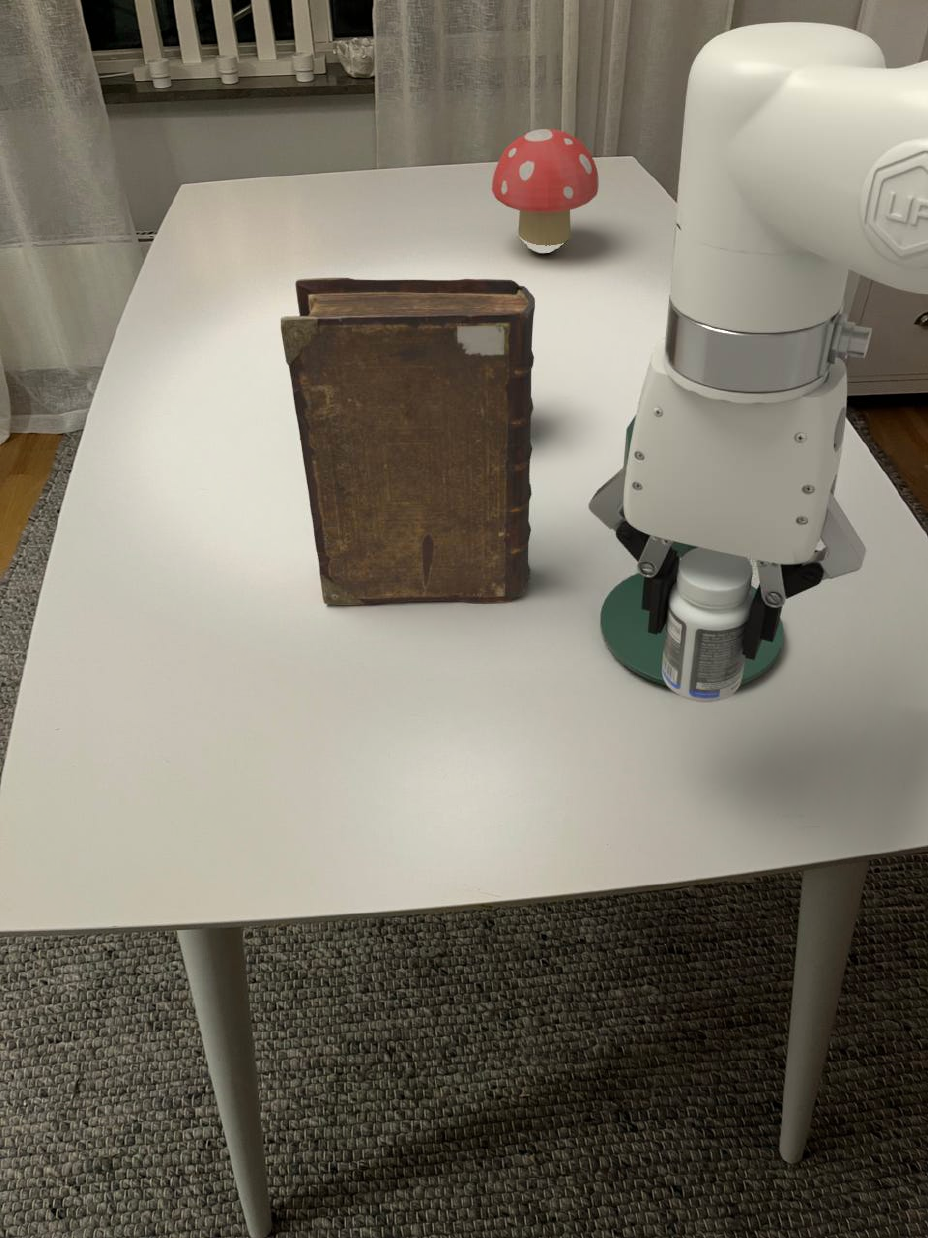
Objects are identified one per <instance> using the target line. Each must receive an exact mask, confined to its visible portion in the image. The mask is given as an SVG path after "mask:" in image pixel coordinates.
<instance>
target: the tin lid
mask: <svg viewBox="0 0 928 1238" xmlns="http://www.w3.org/2000/svg"><path fill="white" fill-rule="evenodd" d="M643 583H644V576H643V575H641V574H640V573H639V572H637V573H635V574H633V575H631V576H628V577H627V578H625V579H623V580H622V581H620V583H618V584H617V585H616V586H614V588H613V589H612V590H611V591H610V592H609V593H608V595H607V596H606V598H605V599H604V602H603V604H602V606H601V611H600V615H599V616H600V618H599V619H600V620H599V627H600V632H601V635H602V638H603V641H604V643H605V645H606V647H607V649H608V650H609V651H610V652H611V653H612V654H613V656H614V657H615V658H616V659H617V660H618V661H619V662H620V663H621V664H622V665H623V666H625V667H626V668H628V669H629V670H630V671H631V672H634V673H635V674H637V675H639V676H641V677H643V678H645V679H647V680H649V681H651V682H653V683H657V684H660V685H662V686H666V687H668V686H667V684H666V683H665V681H664V678H663V675H662V662H663V651H664V642H665V632H666V624H665V626H664V628H663V630H662V632H661V633H658V634H657V635H655V634H652V633H648V623H649V612H650V611H646V610H642V595H643ZM750 591H751V593H752V595H753V598H754V596H755V593H756V591H757V588H756V587H755V586H754V585H752V586H751V590H750ZM783 642H784V626H783V622H782V619H781V618H780V621H779V625H778V629H777V632H776V635H775V638H774V641H773V642H769V641H765V640H762V641H761V644H760V647H759V649H758V652H757V655H756V657H755V660H751V659H748V658H745V664H744V670H743V676H742V680H741V683H740V685H739V686H741V685H743V684H746V683H748V682H750V681H753V680H754V679H756V678H758V677H760V676H761V675H762V674H764V673H765V672H766V671H767V670H768V669H770V667H771V666H772V665H773V664H774V663H775V662H776V660H777V659H778V657H779V655H780V653H781V650H782V645H783Z"/></svg>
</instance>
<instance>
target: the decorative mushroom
mask: <svg viewBox="0 0 928 1238" xmlns="http://www.w3.org/2000/svg"><path fill="white" fill-rule="evenodd" d="M494 169H495V170H494V172H493V177H492V183H491V191H492V194H493V196H494V198H495V199H496V200H497V201H498V202H500V203H501V204H502V205H504V206H505V207H507V208H511V209H513V210H516V211H519V217H518V234H519V236H520V237H521V238H522V239H523V240H525V241H527V242H529V243H532V244H536V245H545V246H547V245H549V246H550V245H557V244H562V243H564V242H566V241H567V240H568V239H569V238H570V239H571V210H576V209H577V208H578V209H579V208H580V207H583V206H584V205H587V204H589V203H590V202H591V201H592V200H593V199H594V198H595V197H596V196H597V195H598V192H599V188H600V187H599V182H600V181H599V173H598V167H597V165H596V163H595V160H594V158H593V157H592V154H591V153H590V152H589V150H588V149H587V148H586V146H585V145H584V144H583V142H581V141H580V140H579V139H578V138H576V137H575V136H574V135H572V134H570V133H568V132H565V131H562V130H559V129H555V128H540V129H535V130H532V131H529V132H526V133H524V134H523V135H520V136H519V137H518V138H516V139H515V140H514V141H512V142H511V143H510V144H509V145H508V146H507V147H506V149H505V150H503V152H502V154H501V156H500V158H499V160H498V162H497V164H496V167H495V168H494ZM518 234H517V235H518ZM519 236H518V237H519ZM570 239H569V240H570ZM569 240H568V241H569ZM568 241H567V242H568ZM567 242H566V243H567Z"/></svg>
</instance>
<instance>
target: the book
mask: <svg viewBox="0 0 928 1238" xmlns="http://www.w3.org/2000/svg"><path fill="white" fill-rule="evenodd" d="M295 292H296V299H297V300H296V301H297V306H298V315H292V316H291V315H289V316H288V315H287V316H281V318H280V332H281V338H282V339H281V340H282V345H283V351H284V357H285V363H286V364H287V365H288V370H289V376H290V382H291V388H292V389H291V390H292V397H293V403H294V411H295V415H296V419H297V427H298V433H299V440H300V447H301V453H302V460H303V467H304V473H305V479H306V485H307V492H308V499H309V508H310V514H311V520H312V527H313V528H312V529H313V535H314V536H313V537H314V543H315V550H316V553H317V560H318V561H317V562H318V568H319V569H318V570H319V581H320V587H321V595H322V600H323V604H325V605H337V606H355V605H377V604H384V603H385V604H386V603H387V604H388V603H407V602H437V601H438V602H439V601H441V602H444V601H445V602H446V601H448V602H449V601H451V602H452V601H455V602H467V603H472V604H473V603H475V604H482V603H483V604H486V603H489V604H490V603H491V604H494V603H508V602H510V601H512V599H514V598H518V597H521V596H522V594H523V593H524V592H526V589H527V587H528V585H529V582H530V579H531V567H530V564H529V542H530V538H531V531H532V527H531V524H530V501H531V497H532V494H533V493H532V486H531V481H530V477H531V476H530V474H531V473H530V472H531V471H530V470H531V458H532V453H533V445H532V442H531V433H532V432H531V431H532V428H531V427H532V415H533V410H534V402H533V397H532V370H533V369H532V368H533V367H534V362H535V361H534V360H535V356H534V353H533V330H534V329H533V328H534V317H535V309H536V299H535V297H534V295H533V294H532V293H531V292H530V290H528V288H527V287H526V286H524V285H519V283H517V282H516V281H515V280H513V279H496V278H495V279H492V278H491V279H490V278H489V279H488V278H478V279H477V278H462V279H359V278H358V279H357V278H356V279H354V278H352V277H351V278H350V277H316V278H313V277H312V278H300V279H296V281H295Z"/></svg>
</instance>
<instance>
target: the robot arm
mask: <svg viewBox="0 0 928 1238" xmlns="http://www.w3.org/2000/svg"><path fill="white" fill-rule="evenodd" d="M686 87H687V88H686V93H685V103H684V105H685V106H684V115H683V116H684V117H683V127H682V141H681V150H680V151H681V153H680V163H679V174H678V176H679V177H678V188H677V198H676V199H677V200H676V210H675V222H674V236H673V249H672V259H671V260H672V261H671V273H670V286H669V295H668V304H667V316H666V328H665V337H662V339H660V340H659V341H658V342H657V343H656V345H655V347H654V351H653V352H652V355H651V357H650V359H649V362H648V366H647V368H646V373H645V376H644V379H643V384H642V386H641V391H640V395H639V400H638V403H637V409H636V412H635V413H636V414H635V415H636V418H635V423H634V428H633V434H632V439H631V444H630V450H629V456H628V462H627V465H625V466H624V467H623V466H622V467H621V469H619V471H618V472H616V473H615V474H614V475H613V476H612V477H611V478H609V479H608V480H607V481H606V482H605V483H604V484H603V485H601V487H599V488H598V489H597V490H596V491H595V493H594V494H593V496H592V498H591V499H590V501H589V503H588V509H589V511H590V512H591V514H593V515H594V516H595V517H596V518H597V519H598V520H600V522H601V523H602V524H604V525H605V526H606V527H607V528H608V529H609V530H612V531H614V532H615V538H616V539H617V541H618V542H620V544H621V545H622V546H623V547H624V548H625V549H626V551H627V552H629V554H630V555H631V556H632V557H633V559H634V560H635V561H636V562H637V563H636V564H637V565H636V569H637V573H640V574H641V575H643V576H644V583H643V595H642V610H646V611H650V612H649V623H648V633H652V634H655V635H657V634H658V633H661V632H662V630H663V628H664V626H665V624H666V621H667V610H668V598H669V594H670V591H671V589H672V587H673V586H674V584H675V583H676V582H677V574H678V567H679V562H680V560H681V557H679V556H677V554H678V551H676V550H673V549H672V548H671V546H672V544H673V542H674V541H675V542H680V543H684V544H688V545H693V546H697V547H701V548H706V549H710V550H714V551H719V552H723V553H728V554H733V555H737V556H742V557H746V558H747V559H751V560H755V562H756V567H757V569H756V570H757V574H758V580H759V582H758V583H759V584H758V586H757V588H756V589H757V591H756V593H755V596H754V598H753V601H752V603H751V607H750V611H749V617H748V623H747V629H746V634H745V640H744V646H743V652H742V655H745V658H748V659H751V660H755V657H756V655H757V652H758V649H759V647H760V644H761V641H762V640H765V641H769V642H773V641H774V638H775V635H776V632H777V629H778V625H779V621H780V619H781V615H782V612H783V611H782V610H783V606H784V605H785V603H786V601H787V600H788V599H790V598H792V597H795V596H797V595H799V594H801V593H803V592H806V591H808V590H809V589H812V588H814V587H817V586H819V585H820V584H821V582H823V581H824V580H828V579H829V580H832V579H836V578H837V577H841V576H845V575H847V574H851V573H854V572H856V571H859V570H861V568H862V567H863V564H864V560H865V557H866V553H867V548H866V545H865V544H864V542H863V541H862V539H861V538H860V536H859V535H858V533H857V531H856V530H855V528H854V526H853V525H852V523H851V522H850V520H849V519H848V517H847V515H846V514H845V512H844V510H843V509H842V507H841V506H840V504H839V503H838V501H837V499H836V497H835V493H836V486H837V481H838V476H839V470H840V464H841V457H842V452H843V444H844V443H843V442H844V437H845V428H846V420H847V419H846V418H847V403H848V400H847V399H848V374H847V366H846V363H845V362H844V361H843V360H846V359H847V358H848V357H852V358H859V359H865V358H866V355H867V351H868V349H869V344H870V340H871V335H872V331H873V328H872V327H867V326H860V325H856V322H854V321H849V320H848V313H844V312H843V311H844V305H845V302H846V300H845V299H844V296H845V291H846V287H847V281H848V276H849V271H852V272H853V273H855V274H857V275H860V276H863V277H865V278H867V279H870V280H872V281H874V282H877V283H880V284H882V285H885V286H888V287H890V288H893V289H895V290H900V291H905V292H909V293H913V294H919V295H921V294H922V295H928V59H927V60H924V61H920V62H916V63H914V64H910V65H906V66H903V67H896V68H887V65H886V59H885V56H884V54H883V52H882V49H881V47H880V46H879V45H878V44H877V42H875V41H874V39H872V38H871V37H870V36H868V35H867V34H865V33H862V32H859V31H857V30H854V29H852V28H850V27H845V26H842V25H837V24H830V23H828V24H827V23H820V22H805V21H804V22H803V21H801V22H800V21H787V22H786V21H785V22H767V23H757V24H750V25H745V26H741V27H737V28H733V29H731V30H727V31H725V32H723V33H720V34H718V35H716V36H714V37H713V38H712V39H710V40H709V41H708V42H706V44H704V45H703V47H701V49H700V51H699V52H698V53H697V55H696V57H695V58H694V60H693V63H692V65H691V67H690V71H689V74H688V80H687V86H686ZM820 540H821V542H822V543H823V545H824V547H823V548H822V549H820V550H818V549H817V546H818V543H819V542H820Z"/></svg>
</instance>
